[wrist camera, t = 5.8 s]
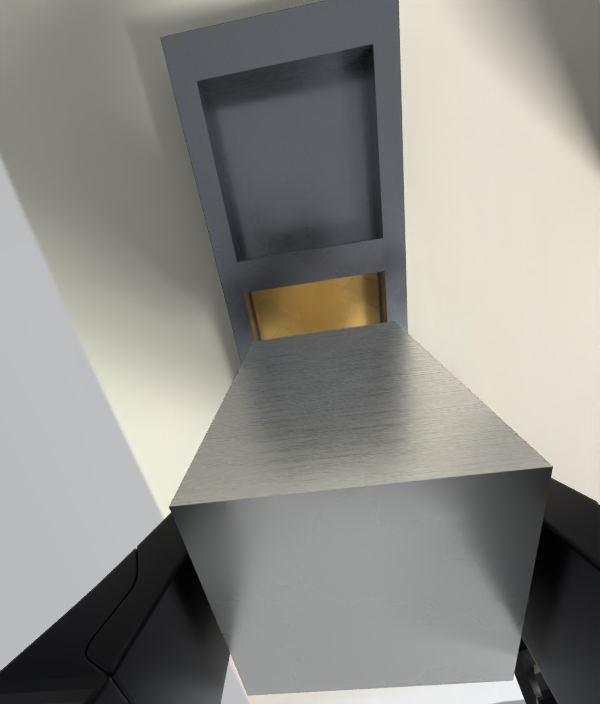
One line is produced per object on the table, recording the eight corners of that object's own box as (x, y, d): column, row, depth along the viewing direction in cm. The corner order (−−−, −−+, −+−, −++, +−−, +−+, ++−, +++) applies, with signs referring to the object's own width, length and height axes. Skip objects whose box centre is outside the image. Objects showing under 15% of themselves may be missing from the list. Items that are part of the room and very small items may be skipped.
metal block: (394, 321, 10) (553, 465, 4) (399, 439, 12) (512, 680, 5) (253, 341, 11) (168, 506, 4) (278, 453, 12) (247, 695, 6)
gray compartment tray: (384, 22, 12) (398, -16, 11) (403, 497, 22) (412, 521, 20) (180, 66, 13) (160, 37, 11) (285, 510, 23) (283, 534, 21)
